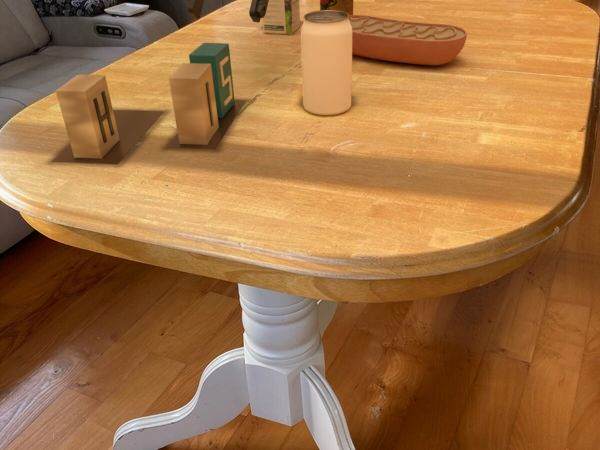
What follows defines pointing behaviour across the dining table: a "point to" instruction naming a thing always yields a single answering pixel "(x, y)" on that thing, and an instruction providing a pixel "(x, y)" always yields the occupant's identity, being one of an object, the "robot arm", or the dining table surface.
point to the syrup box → (282, 17)
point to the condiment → (337, 5)
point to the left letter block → (98, 123)
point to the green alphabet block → (217, 73)
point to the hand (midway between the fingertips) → (223, 17)
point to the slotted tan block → (198, 108)
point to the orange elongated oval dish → (405, 40)
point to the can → (326, 62)
